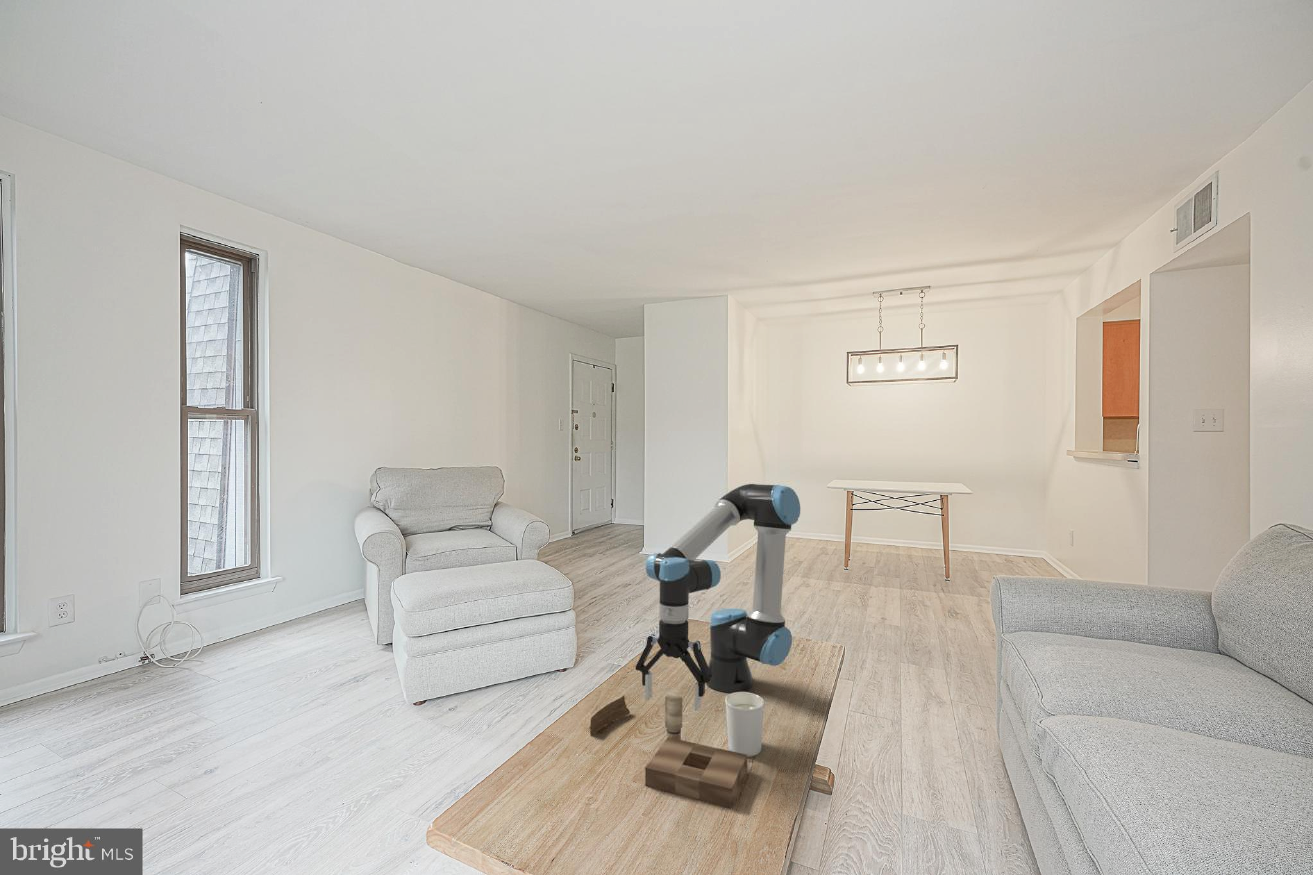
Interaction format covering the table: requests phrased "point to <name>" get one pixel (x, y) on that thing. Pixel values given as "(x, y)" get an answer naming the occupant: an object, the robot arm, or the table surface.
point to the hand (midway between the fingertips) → (672, 703)
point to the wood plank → (609, 714)
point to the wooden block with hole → (697, 771)
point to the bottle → (673, 716)
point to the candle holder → (744, 722)
